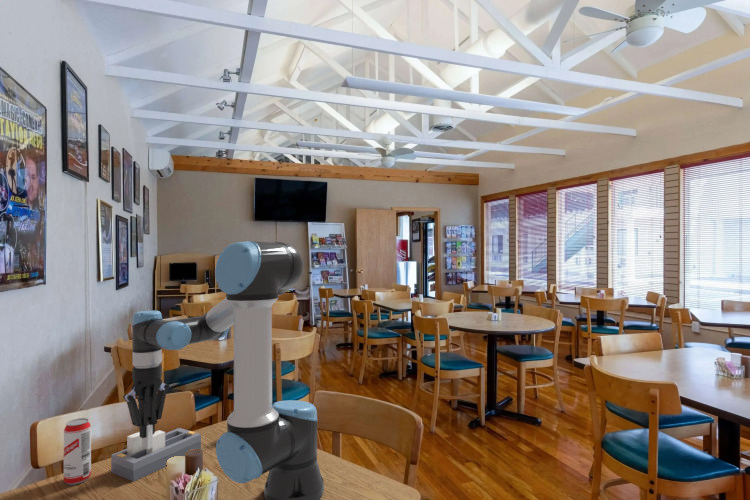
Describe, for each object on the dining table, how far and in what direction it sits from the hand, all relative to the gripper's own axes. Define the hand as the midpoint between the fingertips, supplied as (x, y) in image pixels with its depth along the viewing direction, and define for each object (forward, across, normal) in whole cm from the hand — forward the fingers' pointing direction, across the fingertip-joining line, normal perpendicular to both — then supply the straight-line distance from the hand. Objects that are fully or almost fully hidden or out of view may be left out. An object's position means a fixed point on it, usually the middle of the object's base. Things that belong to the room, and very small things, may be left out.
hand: (147, 447), depth 127 cm
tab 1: (+3, 0, -4) cm, 5 cm away
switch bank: (+6, -5, -2) cm, 8 cm away
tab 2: (+3, -3, 0) cm, 4 cm away
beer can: (+7, +13, -11) cm, 18 cm away
